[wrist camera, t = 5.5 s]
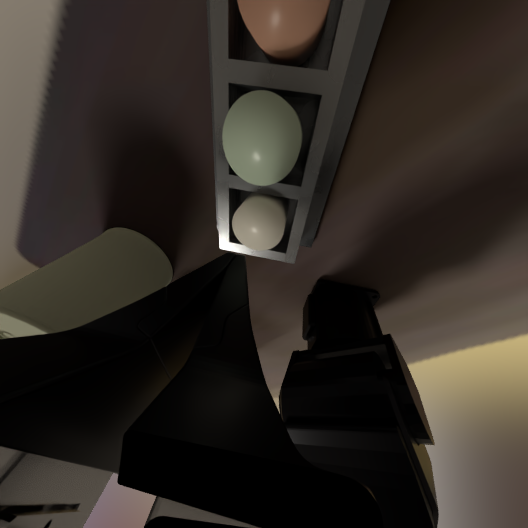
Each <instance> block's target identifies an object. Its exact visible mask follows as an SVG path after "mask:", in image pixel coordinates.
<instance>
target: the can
mask: <svg viewBox="0 0 528 528" xmlns="http://www.w3.org/2000/svg"><path fill="white" fill-rule="evenodd" d="M172 277H173V269H172V266H171V263H170V261H169V259H168V257H167V256H166V255H165V253H164V252H163V251H162V250H161V248H160V247H158V246H157V245H156V244H155V243H154V242H153V241H152V240H150V239H149V238H147V237H146V236H144V235H142V234H140V233H138V232H136V231H134V230H131V229H127V228H111V229H108V230H106V231H105V232H104V233H103V234H102V235H100V236H99V237H97V238H95V239H93V240H92V241H90V242H88V243H86V244H84V245H83V246H81V247H79V248H77V249H75V250H74V251H72V252H70V253H68V254H66V255H65V256H63V257H61V258H59V259H57V260H55V261H53V262H51V263H50V264H48V265H46V266H44V267H42V268H40V269H38V270H37V271H35V272H33V273H31V274H29V275H27V276H25V277H24V278H22V279H20V280H18V281H16V282H14V283H12V284H11V285H9V286H7V287H5V288H3V289H1V290H0V339H5V338H14V337H22V336H31V335H40V334H49V333H56V332H61V331H66V330H70V329H73V328H76V327H79V326H82V325H84V324H87V323H89V322H91V321H93V320H96V319H98V318H100V317H102V316H105V315H107V314H109V313H111V312H113V311H116V310H118V309H120V308H122V307H125V306H127V305H129V304H131V303H133V302H135V301H137V300H140V299H142V298H144V297H146V296H148V295H150V294H152V293H153V292H155V291H157V290H159V289H161V288H163V287H165V286H167V285H168V284H169V283H170V282H171V280H172Z"/></svg>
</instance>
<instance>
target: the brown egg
mask: <svg viewBox="0 0 528 528" xmlns="http://www.w3.org/2000/svg"><path fill="white" fill-rule="evenodd" d="M237 2H238V6H239V10H240V13H241V15H242V18H243V20H244V22H245V25H246V26H247V28H248V30H249V31H250V33H251V34H252V36H253V38H254V39H255V41H256V42H257V44H258V45H259V47H260V49H261V50H262V52H263V53H264V55H265V56H266V58H267V59H268V60H269V61H270V62H271V63H272V64H276V65H284V66H293V67H297V66H299V65H301V64H302V63H304V62H305V61H306V60H307V59H308V58H309V57H310V56H311V55H312V54H313V52H314V51H315V49H316V48H317V46H318V44H319V42H320V40H321V38H322V36H323V33H324V30H325V26H326V22H327V17H328V11H329V6H330V0H237Z"/></svg>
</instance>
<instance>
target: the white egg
mask: <svg viewBox="0 0 528 528" xmlns="http://www.w3.org/2000/svg"><path fill="white" fill-rule="evenodd" d="M287 215H288V204H287V201H286V199H285V197H279V196H273V195H268V194H262V193H256V192H251V193H250V195H249V196H248V197H247V198H246V199H245V201H244V202H243V203H242V204H241V206H240V207H239V208H238V209H237V211H236V212H235V214H234V216H233V219H232V228H233V231H234V234H235V236H236V237H237V239H238V240H239V241H240V242H241V243H242V244H243V245H245V246H246V247H248V248H250V249H253V250H258V251H263V250H268V249H271V248H273V247H275V246H276V245H277V244H278V243H279V242H280V240H281V239H282V237H283V233H284V229H285V224H286V220H287Z"/></svg>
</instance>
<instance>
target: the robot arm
mask: <svg viewBox="0 0 528 528" xmlns="http://www.w3.org/2000/svg"><path fill="white" fill-rule="evenodd" d="M320 284H322V285H320ZM373 295H374V296H373ZM379 298H380V295H379V292H378V291H375V290H370V289H365V288H360V287H356V286H351V285H346V284H341V283H336V282H332V281H327V280H318V281H317V282H316V284H315V287H314V289H313V292H312V294H309V295H308V297H307V300H306V302H305V305H304V308H303V332H302V337H303V339H304V340H307V341H308V350H303V351H299V350H297V351H293V353H292V356H291V359H290V362H289V365H288V368H287V371H286V374H285V377H284V380H283V383H282V386H281V390H280V395H279V409H280V413H279V411H278V409H277V407H276V405H275V402H274V400H273V398H272V396H271V394H270V391H269V389H268V387H267V384H266V381H265V378H264V375H263V371H262V368H261V364H260V360H259V356H258V352H257V348H256V343H255V339H254V335H253V330H252V326H251V319H250V309H249V297H248V283H247V270H246V257H245V255H240V254H237V255H236V254H235V253H230V252H228V253H226V254H224V255H222V256H220V257H218V258H216V259H215V260H213V261H211V262H209V263H207V264H205V265H204V266H202V267H200V268H198V269H196V270H194V271H192V272H191V273H189V274H187V275H185V276H183V277H181V278H180V279H178V280H176V281H174V282H172V283H170V284H168V285H167V286H166V287H163V288H161V289H159V290H157V291H155V292H153V293H152V294H150V295H148V296H146V297H144V298H142V299H140V300H137V301H135V302H133V303H131V304H129V305H127V306H125V307H122V308H120V309H118V310H116V311H113V312H111V313H109V314H107V315H105V316H102V317H100V318H98V319H96V320H93V321H91V322H89V323H87V324H84V325H82V326H79V327H76V328H73V329H70V330H66V331H61V332H56V333H49V334H40V335H31V336H22V337H14V338H5V339H0V528H83V526H84V524H85V523H86V521H87V519H88V517H89V515H90V514H91V512H92V510H93V508H94V506H95V505H96V503H97V501H98V499H99V497H100V496H101V494H102V492H103V490H104V488H105V487H106V485H107V483H108V481H109V479H110V477H111V476H112V474H113V473H117V474H118V484H120V485H123V486H126V487H129V488H132V489H136V490H139V491H142V492H145V493H149V494H152V495H155V496H156V499H155V501H154V504H153V506H152V509H151V511H150V514H149V516H148V519H147V521H146V524H145V526H144V528H437V524H438V505H437V499H436V492H435V486H434V479H433V472H432V465H431V461H430V458H429V455H428V453H427V450H426V447H425V445H424V444H426V445H434V440H433V436H432V433H431V430H430V427H429V424H428V420H427V418H426V415H425V411H424V408H423V405H422V401H421V399H420V395H419V392H418V390H417V387H416V385H415V383H414V380H413V378H412V376H411V373H410V371H409V369H408V366H407V364H406V362H405V360H404V358H403V356H402V355H401V353H400V351H399V349H398V347H397V345H396V344H395V342H394V340H393V338H392V336H391V334H386V335H383V334H382V331H381V328H380V325H379V322H378V319H377V317H376V314H375V311H374V308H373V306H374V305H375V303H376V302H377V301H378V299H379Z"/></svg>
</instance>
